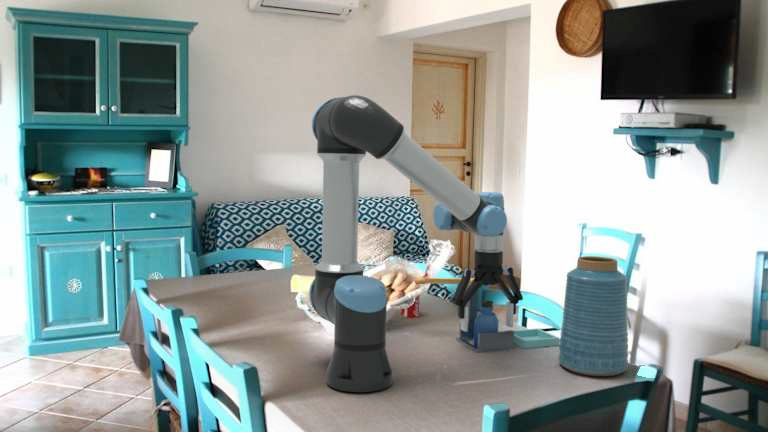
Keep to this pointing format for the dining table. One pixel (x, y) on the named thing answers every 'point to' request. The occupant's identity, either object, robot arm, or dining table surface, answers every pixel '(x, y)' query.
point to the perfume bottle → (485, 320)
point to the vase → (595, 319)
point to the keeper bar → (440, 280)
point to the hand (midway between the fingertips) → (486, 328)
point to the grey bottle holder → (485, 339)
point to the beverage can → (411, 310)
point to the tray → (534, 338)
